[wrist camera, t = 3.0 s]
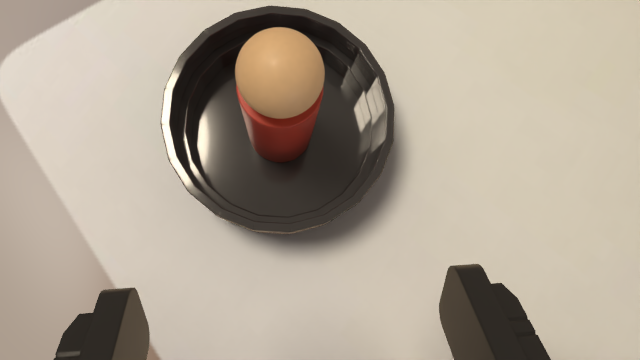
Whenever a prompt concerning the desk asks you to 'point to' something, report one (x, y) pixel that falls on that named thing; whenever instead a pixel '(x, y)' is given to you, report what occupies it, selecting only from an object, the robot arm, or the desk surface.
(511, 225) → the desk surface
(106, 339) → the robot arm
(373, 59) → the pan
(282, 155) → the doll
